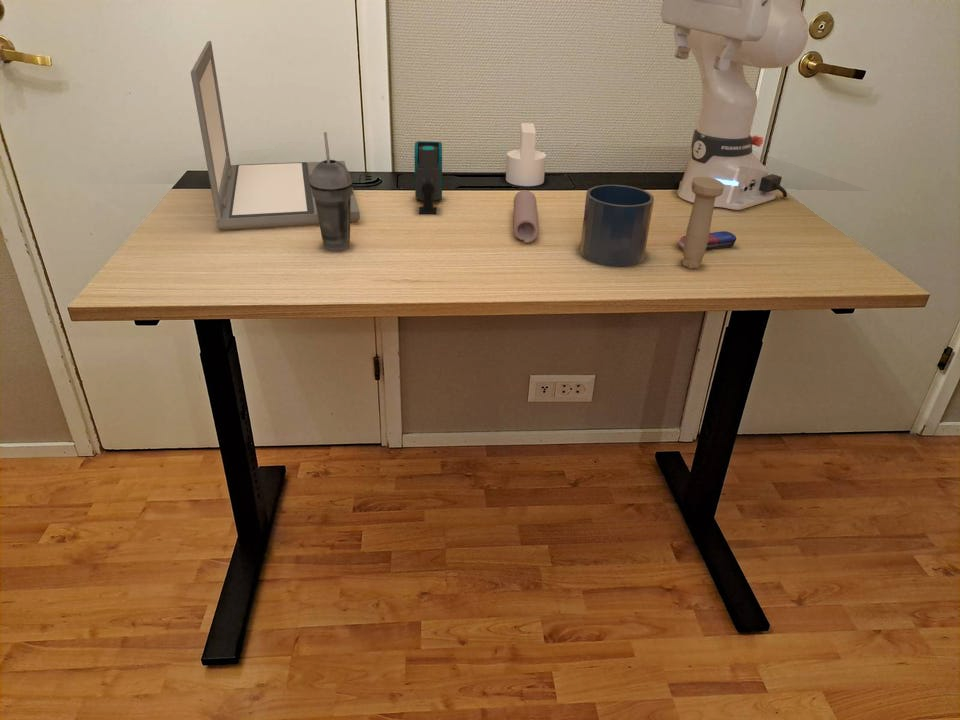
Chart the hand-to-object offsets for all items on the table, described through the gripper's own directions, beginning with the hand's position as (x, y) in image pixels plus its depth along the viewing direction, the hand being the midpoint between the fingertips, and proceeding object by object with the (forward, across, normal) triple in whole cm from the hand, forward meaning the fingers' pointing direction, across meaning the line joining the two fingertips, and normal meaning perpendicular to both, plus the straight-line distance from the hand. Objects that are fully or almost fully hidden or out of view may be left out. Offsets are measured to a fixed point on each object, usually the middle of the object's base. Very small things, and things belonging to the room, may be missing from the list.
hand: (699, 63), depth 110 cm
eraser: (+32, 0, -12) cm, 34 cm away
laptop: (+37, +53, +54) cm, 85 cm away
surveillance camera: (+36, +39, +28) cm, 60 cm away
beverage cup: (+37, +24, +52) cm, 68 cm away
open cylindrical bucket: (+33, +4, +7) cm, 34 cm away
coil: (+34, +21, +15) cm, 43 cm away
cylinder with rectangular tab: (+34, +48, +1) cm, 59 cm away
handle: (+33, -6, -4) cm, 33 cm away
